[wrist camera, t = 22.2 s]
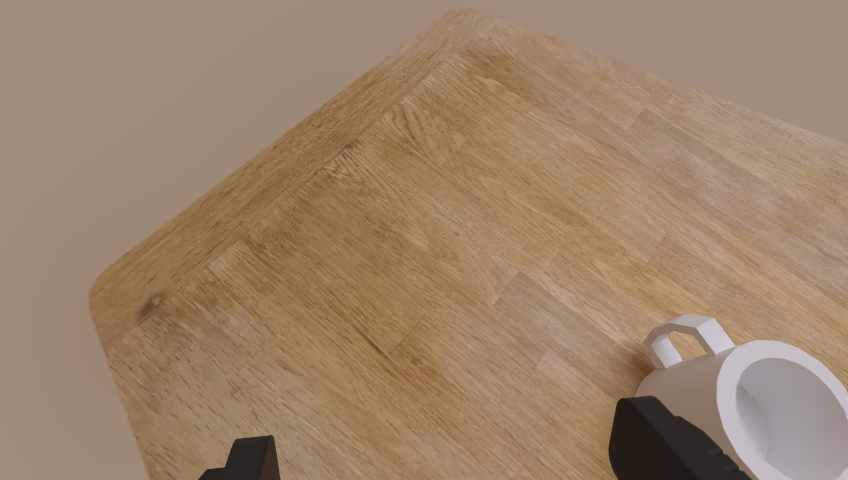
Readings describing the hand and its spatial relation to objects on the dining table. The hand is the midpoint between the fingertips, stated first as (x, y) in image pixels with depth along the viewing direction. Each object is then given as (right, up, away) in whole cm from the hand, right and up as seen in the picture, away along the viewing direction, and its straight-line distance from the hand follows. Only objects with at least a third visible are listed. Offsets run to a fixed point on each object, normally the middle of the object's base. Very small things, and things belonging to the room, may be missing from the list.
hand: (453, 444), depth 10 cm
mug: (+22, -11, +29) cm, 38 cm away
